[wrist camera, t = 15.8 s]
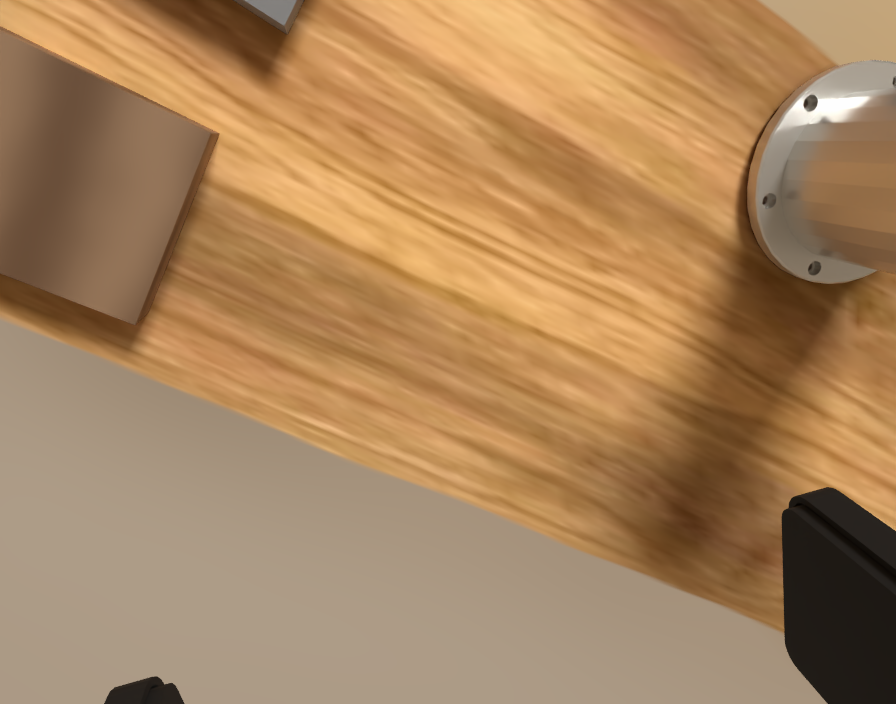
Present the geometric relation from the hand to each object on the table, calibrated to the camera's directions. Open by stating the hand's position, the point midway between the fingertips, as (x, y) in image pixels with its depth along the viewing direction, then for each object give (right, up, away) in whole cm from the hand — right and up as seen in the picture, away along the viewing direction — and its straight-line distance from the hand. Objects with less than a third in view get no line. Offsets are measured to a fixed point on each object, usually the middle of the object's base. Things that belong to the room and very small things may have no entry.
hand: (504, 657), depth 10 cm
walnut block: (-19, +13, +22) cm, 32 cm away
